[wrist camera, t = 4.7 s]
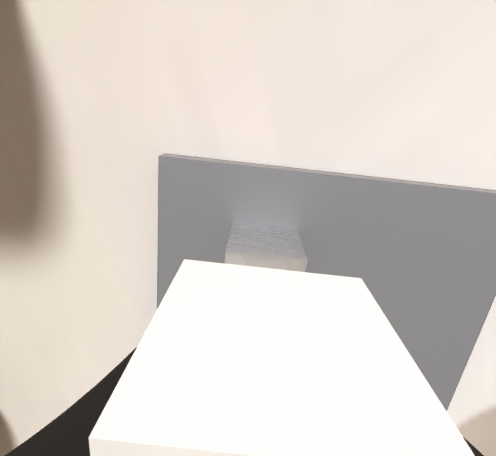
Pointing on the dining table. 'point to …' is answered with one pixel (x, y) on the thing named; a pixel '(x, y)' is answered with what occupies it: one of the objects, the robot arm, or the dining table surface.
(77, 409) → the robot arm
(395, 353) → the collar
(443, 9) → the dining table surface
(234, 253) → the duct stub
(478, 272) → the duct panel
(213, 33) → the dining table surface
